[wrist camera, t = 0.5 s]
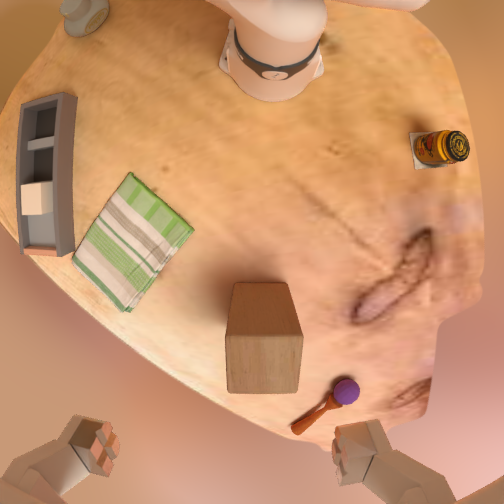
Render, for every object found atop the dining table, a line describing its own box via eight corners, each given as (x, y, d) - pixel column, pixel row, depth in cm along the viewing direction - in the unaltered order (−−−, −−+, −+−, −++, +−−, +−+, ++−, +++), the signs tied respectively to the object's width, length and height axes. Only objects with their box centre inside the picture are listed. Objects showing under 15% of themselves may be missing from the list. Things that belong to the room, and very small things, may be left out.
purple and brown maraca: (285, 432, 61) (348, 385, 56) (288, 416, 67) (346, 370, 61) (303, 443, 61) (366, 398, 55) (305, 427, 67) (363, 383, 61)
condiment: (408, 132, 48) (442, 125, 37) (440, 132, 48) (476, 126, 36) (414, 169, 50) (449, 169, 39) (446, 166, 50) (482, 167, 38)
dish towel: (73, 258, 56) (65, 262, 52) (130, 170, 51) (123, 169, 48) (131, 311, 58) (125, 318, 55) (197, 228, 54) (194, 232, 51)
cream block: (32, 183, 48) (20, 185, 44) (52, 181, 48) (40, 182, 44) (33, 212, 49) (21, 215, 46) (53, 211, 49) (41, 214, 46)
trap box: (36, 107, 47) (21, 104, 41) (77, 97, 47) (63, 91, 41) (35, 247, 54) (20, 254, 49) (75, 250, 54) (61, 256, 49)
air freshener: (85, 45, 44) (62, 29, 34) (67, 34, 42) (43, 19, 33) (119, 7, 42) (100, -14, 32) (98, -2, 40) (79, -21, 31)
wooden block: (234, 328, 58) (227, 394, 39) (234, 281, 56) (224, 335, 36) (285, 329, 58) (297, 394, 39) (288, 282, 56) (304, 335, 36)
